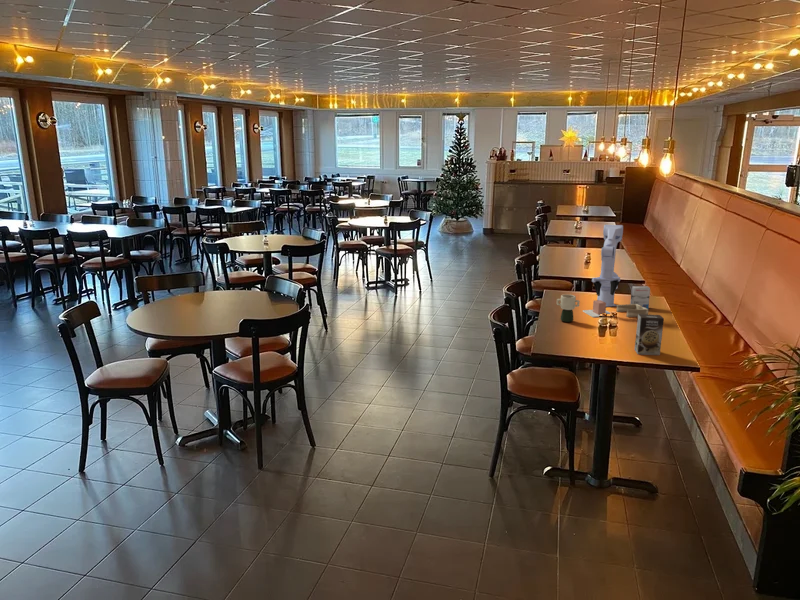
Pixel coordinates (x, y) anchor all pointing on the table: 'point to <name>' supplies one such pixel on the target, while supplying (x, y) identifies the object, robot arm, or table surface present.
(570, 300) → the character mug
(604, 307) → the block
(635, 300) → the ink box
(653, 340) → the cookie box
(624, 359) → the table surface
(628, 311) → the frame
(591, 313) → the pad
